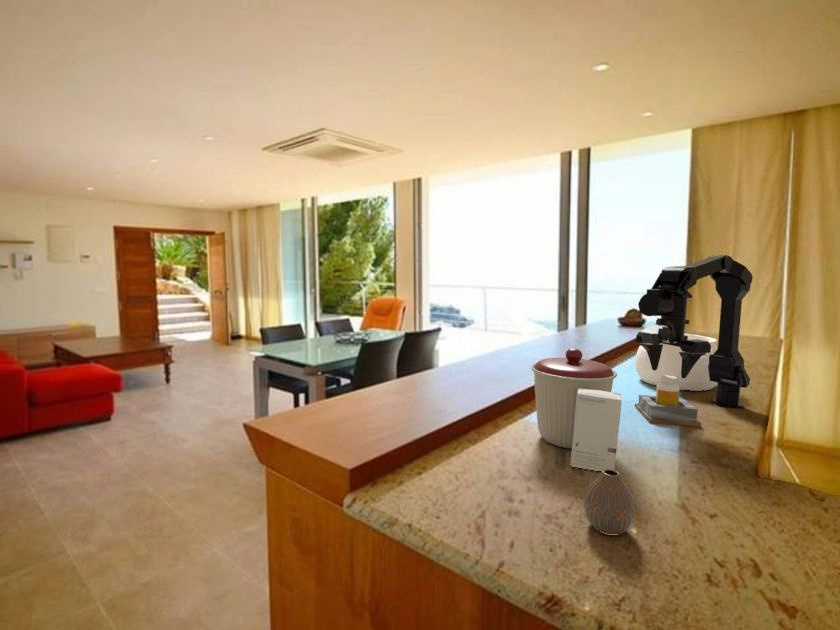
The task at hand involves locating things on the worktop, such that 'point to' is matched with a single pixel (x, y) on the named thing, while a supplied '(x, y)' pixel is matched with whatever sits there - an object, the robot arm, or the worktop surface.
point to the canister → (565, 392)
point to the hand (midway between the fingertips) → (668, 374)
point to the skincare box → (595, 429)
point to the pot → (677, 366)
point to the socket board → (667, 412)
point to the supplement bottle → (667, 391)
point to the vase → (609, 503)
